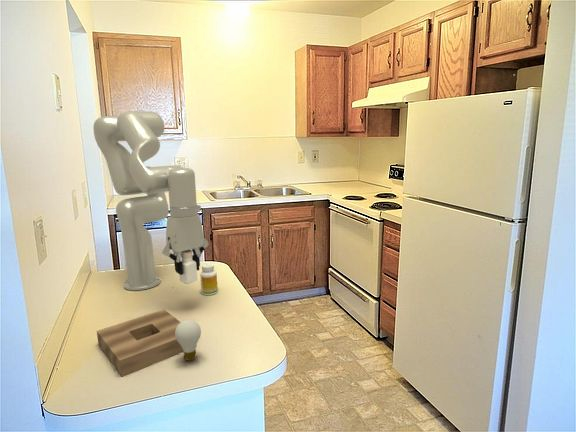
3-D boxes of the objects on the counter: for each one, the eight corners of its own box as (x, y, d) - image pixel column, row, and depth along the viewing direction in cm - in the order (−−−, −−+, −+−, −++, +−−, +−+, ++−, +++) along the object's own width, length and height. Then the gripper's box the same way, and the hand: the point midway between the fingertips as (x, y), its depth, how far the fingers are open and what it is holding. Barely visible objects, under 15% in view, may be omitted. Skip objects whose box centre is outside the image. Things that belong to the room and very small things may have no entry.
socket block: (98, 345, 100) (96, 331, 99) (165, 322, 111) (164, 309, 110) (121, 376, 87) (119, 360, 86) (195, 346, 98) (193, 332, 97)
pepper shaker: (189, 277, 119) (187, 248, 117) (198, 280, 117) (196, 250, 115) (178, 282, 116) (176, 251, 114) (187, 285, 114) (185, 254, 111)
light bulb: (179, 369, 89) (175, 329, 86) (176, 356, 94) (172, 318, 92) (205, 363, 91) (202, 323, 89) (200, 350, 96) (197, 313, 94)
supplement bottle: (220, 293, 131) (218, 265, 129) (205, 297, 128) (203, 269, 126) (213, 288, 135) (212, 261, 133) (199, 292, 132) (197, 264, 130)
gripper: (203, 205, 119) (206, 261, 124) (149, 213, 109) (155, 274, 113) (216, 209, 114) (219, 267, 118) (160, 218, 103) (166, 282, 107)
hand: (187, 270), depth 116 cm, fingers closed on pepper shaker, 4 cm apart
